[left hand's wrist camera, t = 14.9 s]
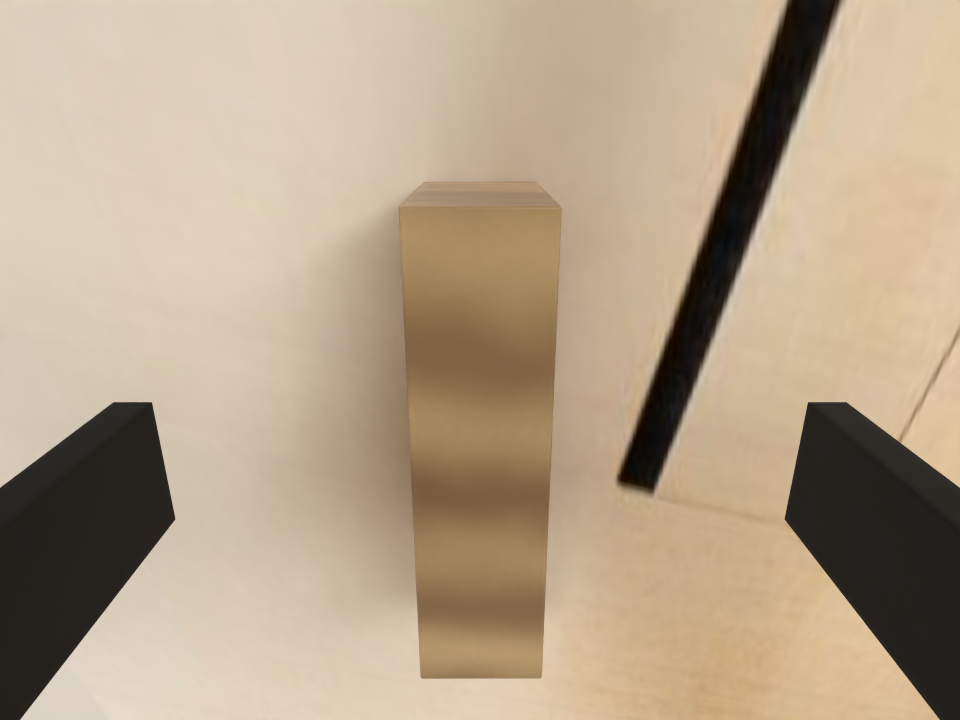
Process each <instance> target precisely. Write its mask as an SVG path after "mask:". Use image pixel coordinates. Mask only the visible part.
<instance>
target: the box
mask: <svg viewBox="0 0 960 720" xmlns="http://www.w3.org/2000/svg"><path fill="white" fill-rule="evenodd" d="M399 224H400V246H401V267H402V288H403V310H404V331H405V353H406V374H407V396H408V417H409V438H410V460H411V481H412V503H413V524H414V546H415V567H416V588H417V610H418V631H419V653H420V674H421V678H422V679H423V678H541V677H542V659H543V635H544V611H545V587H546V564H547V540H548V516H549V492H550V469H551V445H552V421H553V397H554V374H555V350H556V326H557V303H558V279H559V255H560V231H561V207H560V206H559V205H558V204H557V203H556V202H555V201H554V200H553V199H552V198H551V197H550V196H549V195H548V194H547V193H546V192H545V191H544V190H543V189H542V188H541V187H540V186H539V185H538V184H537V183H536V182H425V183H423V184H422V185H421V186H420V187H419V188H418V189H417V190H416V191H415V192H414V193H413V194H412V195H411V196H410V197H409V198H408V199H407V200H406V201H405V202H404V203H403V204H402V205H401V206H400V207H399Z"/></svg>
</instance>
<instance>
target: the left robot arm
mask: <svg viewBox="0 0 960 720" xmlns="http://www.w3.org/2000/svg"><path fill="white" fill-rule="evenodd" d="M174 520H175V515H174V510H173V505H172V500H171V495H170V490H169V485H168V480H167V475H166V470H165V465H164V460H163V455H162V450H161V445H160V440H159V435H158V430H157V425H156V420H155V416H154V411H153V406H152V402H113V403H112V404H111V405H109V406H108V407H107V408H105V409H104V410H103V411H101V412H100V413H99V414H97V415H96V416H95V417H94V418H92V419H91V420H90V421H88V422H87V423H86V424H84V425H83V426H82V427H80V428H79V429H78V430H76V431H75V432H74V433H72V434H71V435H70V436H68V437H67V438H66V439H64V440H63V441H62V442H60V443H59V444H58V445H56V446H55V447H54V448H52V449H51V450H50V451H48V452H47V453H46V454H44V455H43V456H42V457H40V458H39V459H38V460H36V461H35V462H34V463H33V464H31V465H30V466H29V467H27V468H26V469H25V470H23V471H22V472H21V473H19V474H18V475H17V476H15V477H14V478H13V479H11V480H10V481H9V482H7V483H6V484H5V485H3V486H2V487H1V488H0V720H20V719H21V718H22V716H23V715H24V714H25V713H26V711H27V710H28V709H29V707H30V706H31V705H32V704H33V702H34V701H35V700H36V698H37V697H38V696H39V695H40V693H41V692H42V691H43V689H44V688H45V687H46V686H47V684H48V683H49V682H50V680H51V679H52V678H53V676H54V675H55V674H56V673H57V671H58V670H59V669H60V667H61V666H62V665H63V664H64V662H65V661H66V660H67V658H68V657H69V656H70V655H71V653H72V652H73V651H74V649H75V648H76V647H77V646H78V644H79V643H80V642H81V640H82V639H83V638H84V636H85V635H86V634H87V633H88V631H89V630H90V629H91V627H92V626H93V625H94V624H95V622H96V621H97V620H98V618H99V617H100V616H101V615H102V613H103V612H104V611H105V609H106V608H107V607H108V606H109V604H110V603H111V602H112V600H113V599H114V598H115V596H116V595H117V594H118V593H119V591H120V590H121V589H122V587H123V586H124V585H125V584H126V582H127V581H128V580H129V578H130V577H131V576H132V575H133V573H134V572H135V571H136V569H137V568H138V567H139V566H140V564H141V563H142V562H143V560H144V559H145V558H146V556H147V555H148V554H149V553H150V551H151V550H152V549H153V547H154V546H155V545H156V544H157V542H158V541H159V540H160V538H161V537H162V536H163V535H164V533H165V532H166V531H167V529H168V528H169V527H170V525H171V524H172V523H173V522H174ZM785 520H786V522H787V523H788V524H789V525H790V527H791V528H792V529H793V531H794V532H795V533H796V535H797V536H798V537H799V538H800V540H801V541H802V542H803V544H804V545H805V546H806V547H807V549H808V550H809V551H810V553H811V554H812V555H813V556H814V558H815V559H816V560H817V562H818V563H819V564H820V566H821V567H822V568H823V569H824V571H825V572H826V573H827V575H828V576H829V577H830V578H831V580H832V581H833V582H834V584H835V585H836V586H837V587H838V589H839V590H840V591H841V593H842V594H843V595H844V596H845V598H846V599H847V600H848V602H849V603H850V604H851V606H852V607H853V608H854V609H855V611H856V612H857V613H858V615H859V616H860V617H861V618H862V620H863V621H864V622H865V624H866V625H867V626H868V627H869V629H870V630H871V631H872V633H873V634H874V635H875V636H876V638H877V639H878V640H879V642H880V643H881V644H882V646H883V647H884V648H885V649H886V651H887V652H888V653H889V655H890V656H891V657H892V658H893V660H894V661H895V662H896V664H897V665H898V666H899V667H900V669H901V670H902V671H903V673H904V674H905V675H906V676H907V678H908V679H909V680H910V682H911V683H912V684H913V686H914V687H915V688H916V689H917V691H918V692H919V693H920V695H921V696H922V697H923V698H924V700H925V701H926V702H927V704H928V705H929V706H930V707H931V709H932V710H933V711H934V713H935V714H936V715H937V717H938V718H939V719H940V720H960V488H959V487H958V486H957V485H955V484H954V483H953V482H951V481H950V480H949V479H947V478H946V477H945V476H943V475H942V474H941V473H939V472H938V471H937V470H935V469H934V468H933V467H931V466H930V465H929V464H927V463H926V462H925V461H924V460H922V459H921V458H920V457H918V456H917V455H916V454H914V453H913V452H912V451H910V450H909V449H908V448H906V447H905V446H904V445H902V444H901V443H900V442H898V441H897V440H896V439H894V438H893V437H892V436H890V435H889V434H888V433H886V432H885V431H884V430H882V429H881V428H880V427H878V426H877V425H876V424H874V423H873V422H872V421H870V420H869V419H868V418H866V417H865V416H864V415H863V414H861V413H860V412H859V411H857V410H856V409H855V408H853V407H852V406H851V405H849V404H848V403H847V402H808V406H807V411H806V416H805V420H804V425H803V430H802V435H801V440H800V445H799V450H798V455H797V460H796V465H795V470H794V475H793V480H792V485H791V490H790V495H789V500H788V505H787V510H786V515H785Z"/></svg>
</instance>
